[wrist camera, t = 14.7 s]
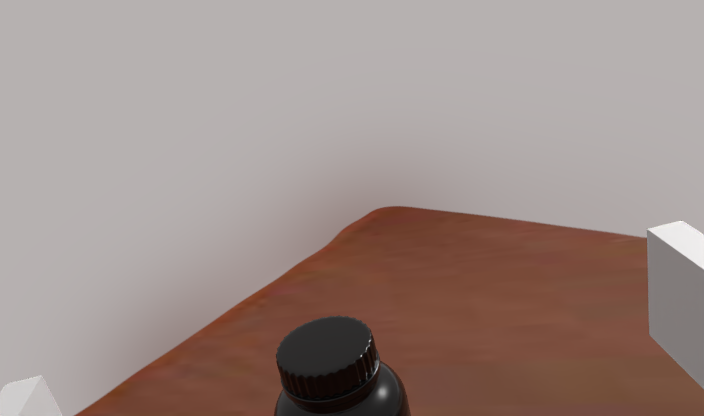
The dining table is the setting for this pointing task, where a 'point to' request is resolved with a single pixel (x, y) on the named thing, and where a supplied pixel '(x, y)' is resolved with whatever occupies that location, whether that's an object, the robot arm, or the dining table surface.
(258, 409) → the dining table surface
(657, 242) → the robot arm
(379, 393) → the supplement bottle
